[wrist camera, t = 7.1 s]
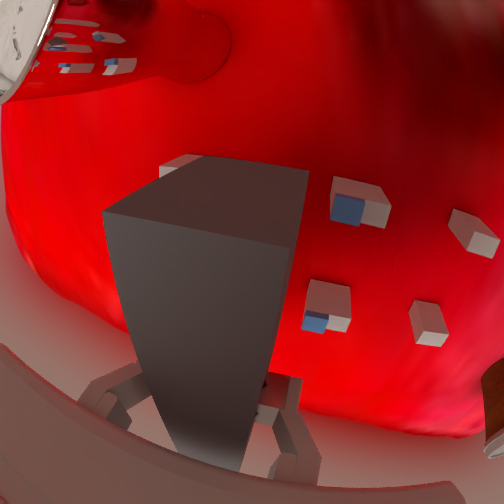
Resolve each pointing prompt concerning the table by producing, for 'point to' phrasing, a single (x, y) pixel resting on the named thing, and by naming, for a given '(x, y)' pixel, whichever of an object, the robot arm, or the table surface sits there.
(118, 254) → the tall grey pillar
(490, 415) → the disposable coffee cup
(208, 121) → the table surface
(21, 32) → the beer glass
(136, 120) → the table surface
